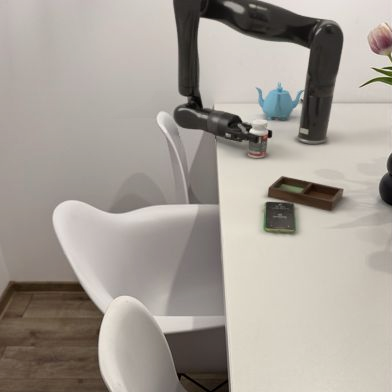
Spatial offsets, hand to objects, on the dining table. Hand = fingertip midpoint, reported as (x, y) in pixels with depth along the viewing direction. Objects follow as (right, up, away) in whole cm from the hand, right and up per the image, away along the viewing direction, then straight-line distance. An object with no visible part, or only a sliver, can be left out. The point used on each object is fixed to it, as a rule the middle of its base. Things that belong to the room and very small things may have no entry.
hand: (264, 137), depth 146 cm
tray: (+8, -24, -18) cm, 31 cm away
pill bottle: (-2, -4, +5) cm, 7 cm away
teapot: (+10, +23, +35) cm, 43 cm away
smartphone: (0, -32, -27) cm, 42 cm away
